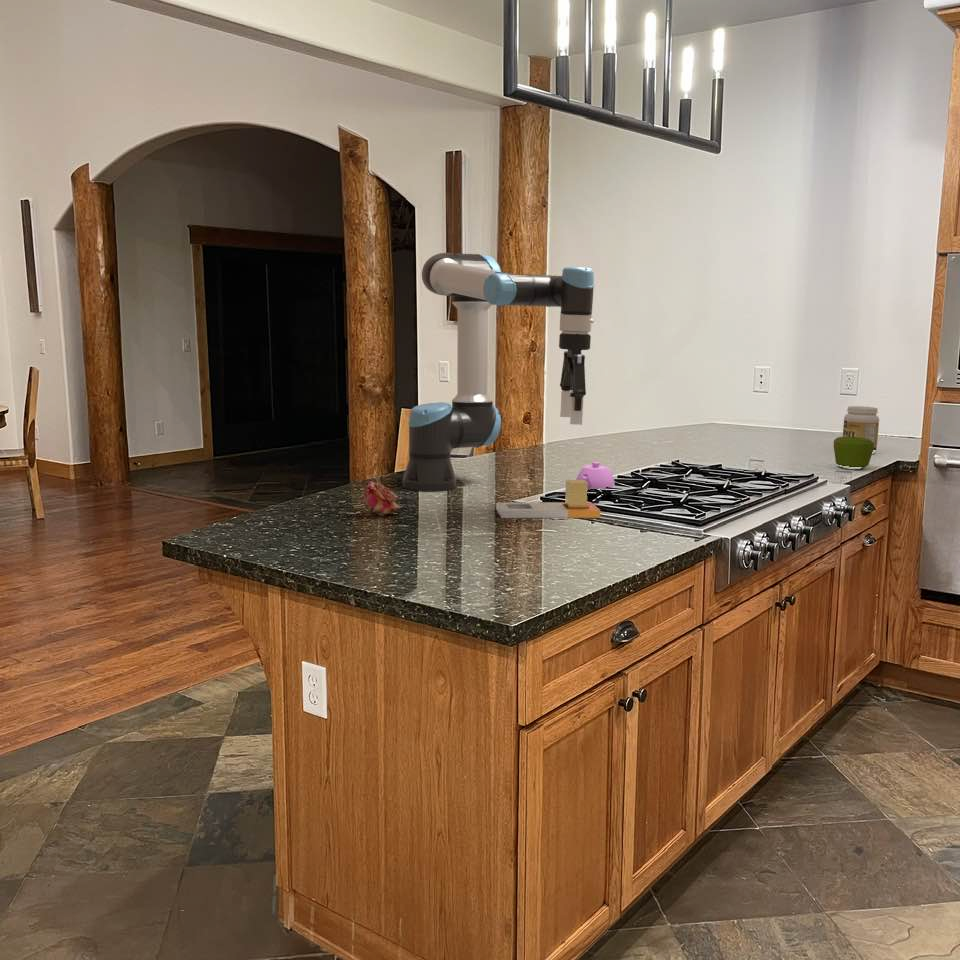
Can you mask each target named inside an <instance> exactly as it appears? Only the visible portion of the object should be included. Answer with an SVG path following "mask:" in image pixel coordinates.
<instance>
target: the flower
mask: <svg viewBox="0 0 960 960" xmlns="http://www.w3.org/2000/svg"><path fill="white" fill-rule="evenodd" d="M363 491H364V499H365V500H364V502H366V504H367V505H368V507H369V510H368V511H367V514H368V515H372V513H374V511H375V512H376V514H377V515H378V516H381V517H382V516H383V517H387V516H385V515H387V514H392V515H393V513H394V511H395V509H401V508H402V505H399V504H398V503H397V498H398V495H397V494H396V493H394V492H393V491H392V489H391V490H390V489H389V488H388V487H387V486H386V487H385V486H384V485H383V484H382V483H381V482H379V481H378V482H376V483H375V482H373V481H372V480H370V481H369V482H368V485H367V486H366V488H365V489H363Z"/></svg>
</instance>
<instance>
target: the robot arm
mask: <svg viewBox="0 0 960 960" xmlns="http://www.w3.org/2000/svg"><path fill="white" fill-rule="evenodd" d="M594 276H595V275H594V270H593V269H592V268H590V267H580V266H579V267H578V266H576V267H575V266H573V267H572V266H567V267H564V268H563V269H562V274H561V275H551V274H548V275H547V274H521V273H519V274H518V273H510V272H503V271H502V270H501V267H500V265H499V264H498V262H497V260H496V259H494V257H492V256H490V255H486V254H480V253H455V252H454V253H452V252H440V253H436V254H434V255H432V256H431V257H429V258H427V260H426V261H425V262H424V264H423V266H422V269H421V280H422V283H423V285H424V286H425V287H424V288H426V289H427V290H428V291H429V292H431V293H433V294H435V295H438V296H444V297H446V296H447V297H451V299H452V301H451V303H452V305H453V306H454V307H455V308H456V310H457V359H456V360H457V367H456V369H457V372H456V374H457V382H456V383H457V394H456V396H455V397H454V398H452V399H451V400H452V401H451V404H450V402H431V403H430V402H428V403H423V404H419V405H415V406H414V407H412V408H411V409H410V411H409V417H408V419H409V420H408V462H407V465H406V468H405V471H404V474H403V477H402V487H403V488H404V489H406V490H410V491H411V490H412V491H419V492H443V491H450V490H453V489H454V490H455V489H456V488H457V476H456V474H455V470H454V468H453V464H452V461H451V451H452V450H451V449H465V448H466V449H467V448H477V449H478V448H481V447H488V446H490V445H492V444H493V443H494V442H495V440H497V438H498V437H499V434H500V431H501V425H502V418H501V417H502V416H501V414H500V410H499V409H498V408H497V407H496V406H494V401H493V399H492V398H491V397H490V396H489V395H488V379H489V378H488V373H489V372H488V370H489V369H488V363H489V362H488V359H489V357H488V356H489V354H488V353H489V351H488V348H489V346H488V345H489V343H488V342H489V309H490V308H491V307H492V306H499V307H500V306H501V307H504V306H516V307H517V306H523V307H544V308H546V307H547V308H552V307H553V308H557V307H560V315H559V331H560V334H559V335H558V336H559V338H558V339H559V340H558V347H559V349H561V350H565V351H563V362H562V370H561V377H560V384H559V387H560V389H561V392H560V393H561V396H560V397H561V398H560V415H559V416H560V417H561V418H570V420H569V421H570V422H569V425H578V426H579V425H581V426H582V425H583V416H584V415H583V414H584V413H583V412H584V410H583V409H584V397H585V396H586V395H587V389H586V371H585V370H586V368H585V362H586V361H585V360H586V355H585V354H582V351H588V350H590V349H591V339H592V336H591V335H590V334H589V333H590V332H591V331H592V324H594V323H595V320H594V319H592V318H593V317H592V312H593V303H594V302H593V301H594V287H595V283H594V282H595V281H594V280H595V279H594Z"/></svg>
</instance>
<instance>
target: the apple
mask: <svg viewBox="0 0 960 960" xmlns="http://www.w3.org/2000/svg"><path fill="white" fill-rule="evenodd" d="M873 449H874V443H873V442H872V441H871V440H870V439H866V438H860V437H854V435H853V437H843V436H838V437H836V438H835V439H834V440H833V452H834V459H835V464H836V465H837V464H838V465H842V466H849V467H864V468H866V467H868V466H869V464H870V461H871V458H872V455H873V454H872V452H873ZM838 465H837V466H838Z"/></svg>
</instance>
